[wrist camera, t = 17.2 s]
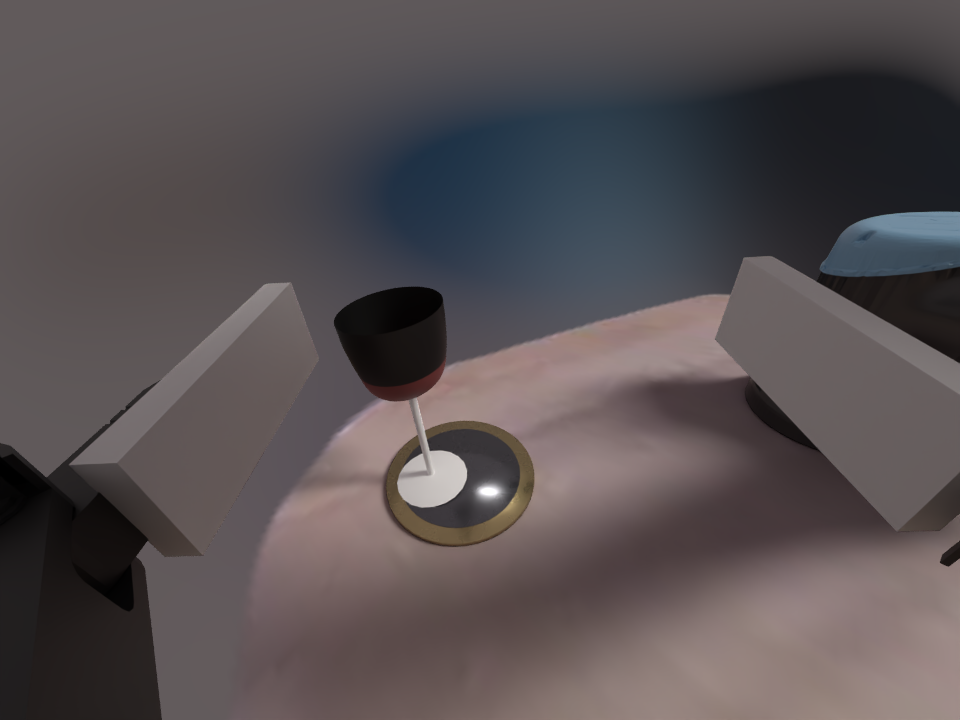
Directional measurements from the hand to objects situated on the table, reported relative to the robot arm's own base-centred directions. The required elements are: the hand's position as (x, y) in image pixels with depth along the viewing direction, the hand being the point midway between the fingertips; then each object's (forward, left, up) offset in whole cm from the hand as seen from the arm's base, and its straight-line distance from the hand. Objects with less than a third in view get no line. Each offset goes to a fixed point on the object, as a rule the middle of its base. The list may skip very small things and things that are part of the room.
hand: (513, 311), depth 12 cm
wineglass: (+1, -18, -28) cm, 33 cm away
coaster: (-2, -17, -29) cm, 34 cm away
